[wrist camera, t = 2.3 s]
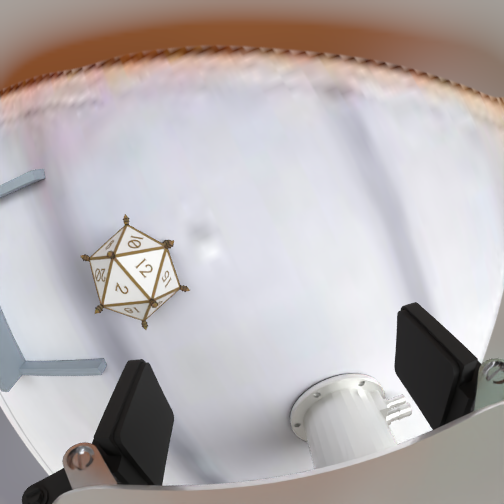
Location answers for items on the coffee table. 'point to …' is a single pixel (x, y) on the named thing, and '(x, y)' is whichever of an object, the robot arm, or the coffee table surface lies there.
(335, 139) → the coffee table surface
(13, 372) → the tray
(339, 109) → the coffee table surface
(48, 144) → the coffee table surface
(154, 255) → the game die
